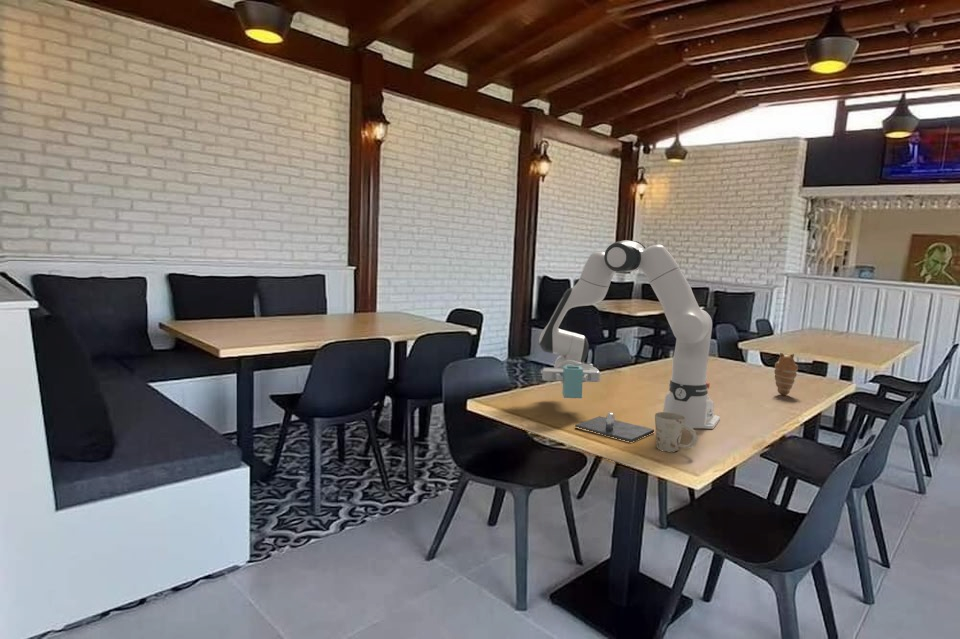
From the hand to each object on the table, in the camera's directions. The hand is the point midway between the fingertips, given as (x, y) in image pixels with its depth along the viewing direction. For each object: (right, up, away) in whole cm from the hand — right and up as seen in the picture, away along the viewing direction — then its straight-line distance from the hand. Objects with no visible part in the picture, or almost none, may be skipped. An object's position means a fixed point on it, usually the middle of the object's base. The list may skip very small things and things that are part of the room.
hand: (572, 379), depth 200 cm
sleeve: (0, -6, +1) cm, 6 cm away
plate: (+11, -15, -12) cm, 23 cm away
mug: (+25, -18, -30) cm, 43 cm away
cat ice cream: (+96, -12, +46) cm, 108 cm away
